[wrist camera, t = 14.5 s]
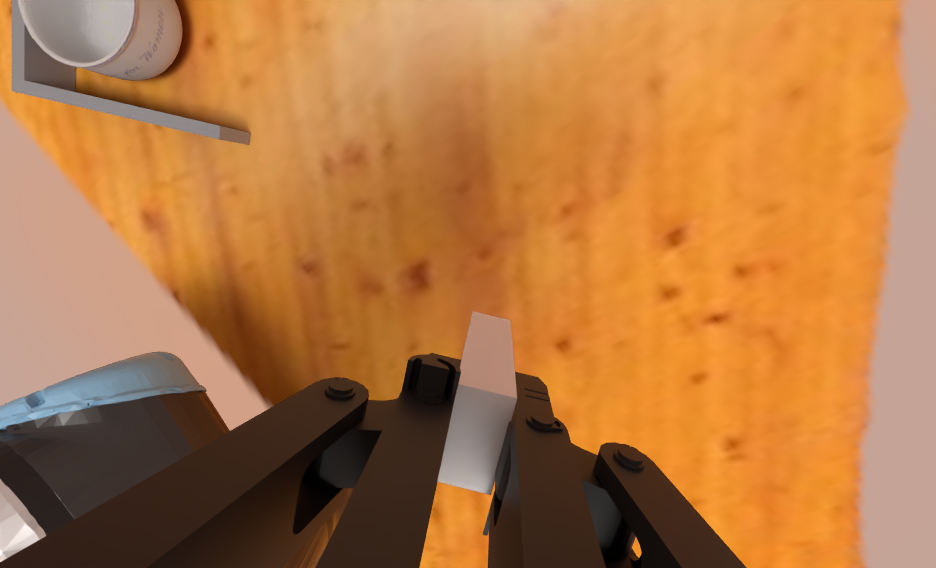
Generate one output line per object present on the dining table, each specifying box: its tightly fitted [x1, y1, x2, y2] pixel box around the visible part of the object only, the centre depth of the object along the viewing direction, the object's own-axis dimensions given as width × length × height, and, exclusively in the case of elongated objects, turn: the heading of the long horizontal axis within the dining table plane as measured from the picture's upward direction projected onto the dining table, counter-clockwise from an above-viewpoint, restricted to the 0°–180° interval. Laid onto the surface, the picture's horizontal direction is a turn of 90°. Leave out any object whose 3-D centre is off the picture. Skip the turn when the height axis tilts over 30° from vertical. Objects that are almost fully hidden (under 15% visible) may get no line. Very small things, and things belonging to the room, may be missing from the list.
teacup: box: [18, 0, 182, 80], centre depth 40 cm, size 14×11×8 cm
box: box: [12, 0, 250, 145], centre depth 41 cm, size 18×20×5 cm
